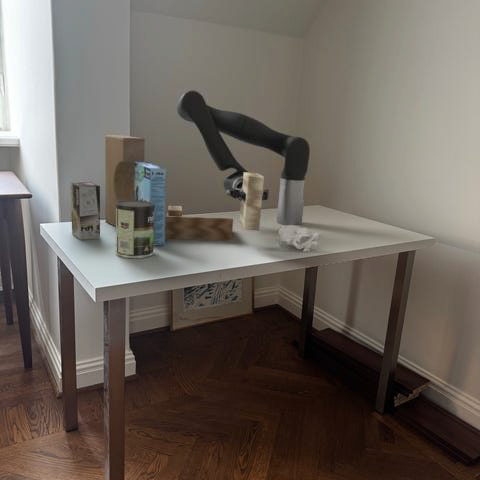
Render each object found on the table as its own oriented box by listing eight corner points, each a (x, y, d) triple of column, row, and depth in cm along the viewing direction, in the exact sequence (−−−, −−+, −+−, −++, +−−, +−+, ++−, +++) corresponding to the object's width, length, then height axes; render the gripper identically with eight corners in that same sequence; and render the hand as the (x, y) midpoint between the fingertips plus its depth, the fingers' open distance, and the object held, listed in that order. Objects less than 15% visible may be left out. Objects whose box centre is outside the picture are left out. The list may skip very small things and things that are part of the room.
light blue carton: (164, 245, 140) (167, 168, 134) (148, 246, 138) (149, 168, 132) (148, 230, 157) (149, 161, 151) (133, 230, 154) (134, 161, 149)
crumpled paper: (270, 227, 146) (298, 218, 152) (269, 246, 149) (296, 236, 155) (296, 243, 137) (324, 232, 144) (294, 263, 141) (322, 251, 147)
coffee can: (155, 249, 135) (156, 201, 131) (151, 259, 125) (152, 207, 122) (118, 247, 134) (119, 199, 130) (112, 257, 124) (112, 205, 121)
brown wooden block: (226, 229, 165) (227, 210, 163) (231, 240, 151) (233, 218, 149) (160, 227, 161) (161, 207, 159) (159, 238, 147) (160, 216, 146)
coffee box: (101, 238, 142) (100, 185, 138) (79, 240, 139) (78, 186, 135) (91, 231, 150) (91, 181, 146) (71, 233, 146) (70, 181, 142)
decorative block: (105, 221, 164) (104, 134, 157) (125, 220, 169) (125, 135, 162) (122, 231, 153) (123, 137, 146) (143, 229, 158) (145, 138, 150)
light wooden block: (253, 223, 149) (257, 173, 145) (259, 230, 139) (264, 177, 135) (239, 222, 148) (243, 172, 144) (244, 230, 139) (248, 176, 135)
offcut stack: (181, 230, 160) (182, 205, 158) (181, 237, 151) (182, 211, 149) (166, 229, 159) (167, 204, 157) (166, 236, 150) (166, 210, 148)
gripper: (224, 176, 153) (230, 183, 137) (266, 178, 155) (277, 186, 139) (222, 198, 155) (228, 208, 139) (264, 201, 157) (275, 211, 141)
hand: (253, 197), depth 139 cm, fingers closed on light wooden block, 4 cm apart
